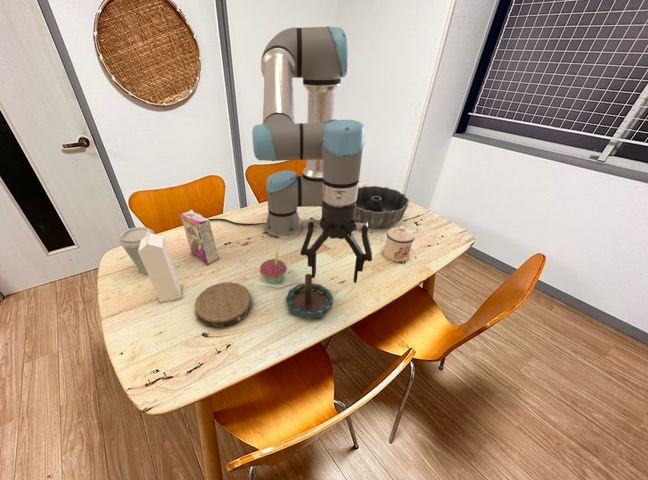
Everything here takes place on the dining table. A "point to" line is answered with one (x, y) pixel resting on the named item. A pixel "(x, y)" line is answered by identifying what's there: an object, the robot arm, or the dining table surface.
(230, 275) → the dining table surface
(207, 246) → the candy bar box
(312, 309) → the post
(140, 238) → the disposable coffee cup
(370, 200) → the bundt pan
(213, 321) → the wood slice
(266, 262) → the cupcake
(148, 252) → the milk
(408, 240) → the teacup with lid
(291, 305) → the ring
